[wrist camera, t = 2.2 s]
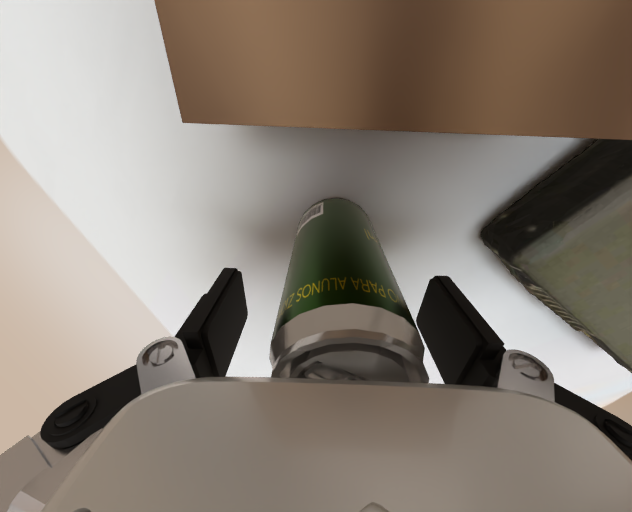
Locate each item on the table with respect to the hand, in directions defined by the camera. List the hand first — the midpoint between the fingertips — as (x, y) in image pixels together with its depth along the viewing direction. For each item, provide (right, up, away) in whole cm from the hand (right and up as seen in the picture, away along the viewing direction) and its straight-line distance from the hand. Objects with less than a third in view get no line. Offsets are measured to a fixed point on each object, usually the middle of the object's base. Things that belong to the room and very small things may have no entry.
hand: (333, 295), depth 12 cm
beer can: (0, +4, +6) cm, 7 cm away
